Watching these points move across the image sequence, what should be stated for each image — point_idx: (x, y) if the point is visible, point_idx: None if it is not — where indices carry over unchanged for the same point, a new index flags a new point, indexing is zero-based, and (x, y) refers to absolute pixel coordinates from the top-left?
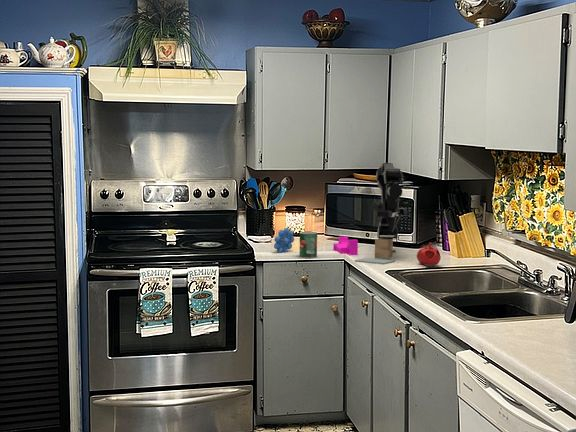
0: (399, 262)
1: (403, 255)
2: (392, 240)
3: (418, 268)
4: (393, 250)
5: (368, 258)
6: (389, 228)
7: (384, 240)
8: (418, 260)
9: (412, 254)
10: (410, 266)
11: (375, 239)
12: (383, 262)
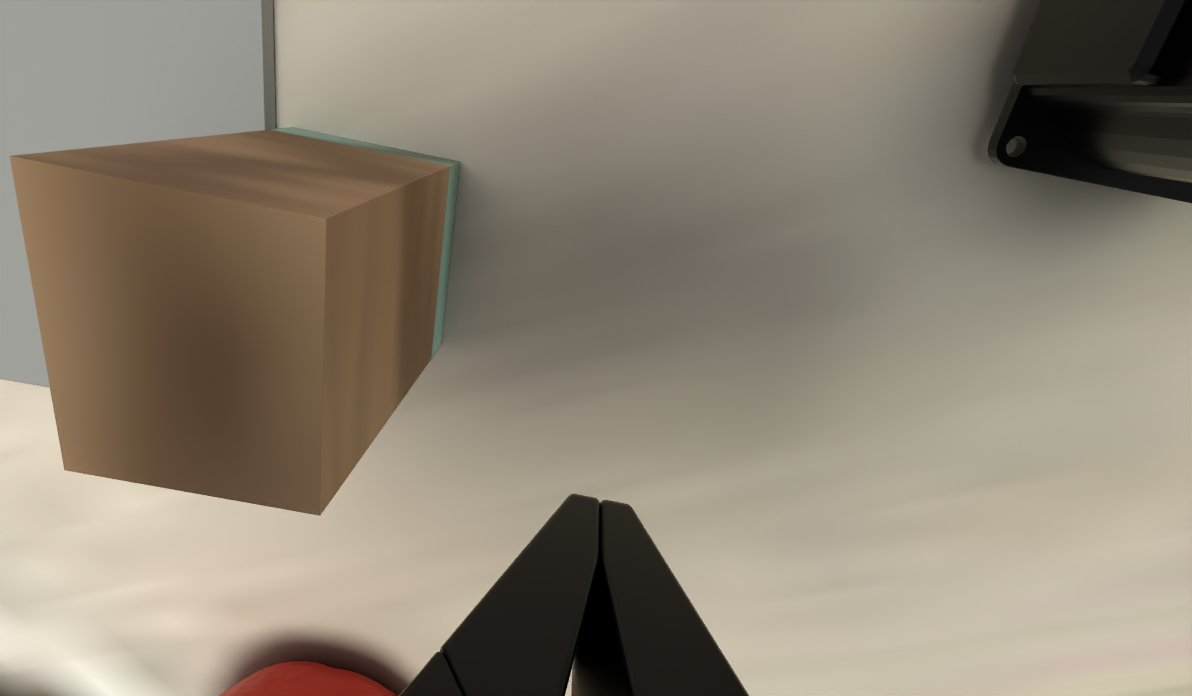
0: None
1: (957, 355)
2: (321, 501)
3: (29, 688)
4: (1144, 188)
5: (202, 37)
6: (523, 551)
7: (57, 408)
8: (242, 680)
9: (1105, 430)
10: (85, 617)
11: (16, 167)
12: (4, 362)
